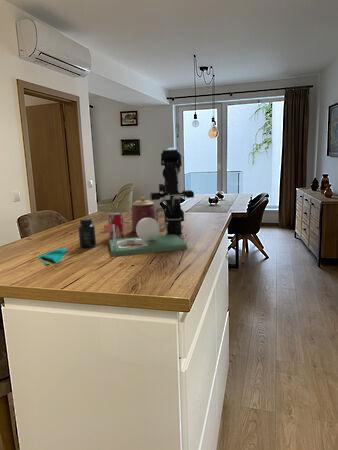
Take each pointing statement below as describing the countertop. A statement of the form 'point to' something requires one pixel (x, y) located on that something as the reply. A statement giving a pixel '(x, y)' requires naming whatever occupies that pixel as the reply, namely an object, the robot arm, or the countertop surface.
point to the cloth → (53, 255)
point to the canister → (142, 211)
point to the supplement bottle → (87, 234)
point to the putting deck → (144, 244)
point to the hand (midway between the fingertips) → (172, 214)
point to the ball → (147, 229)
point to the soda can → (116, 225)
